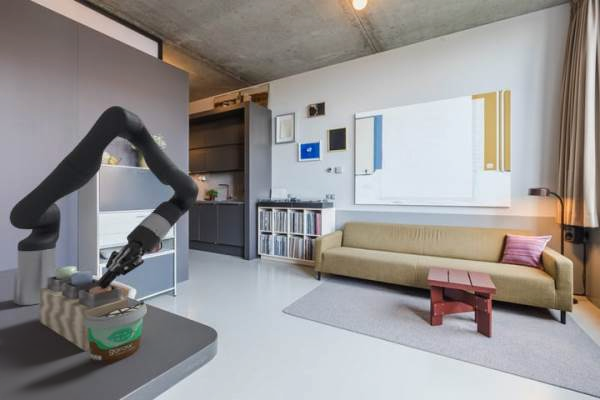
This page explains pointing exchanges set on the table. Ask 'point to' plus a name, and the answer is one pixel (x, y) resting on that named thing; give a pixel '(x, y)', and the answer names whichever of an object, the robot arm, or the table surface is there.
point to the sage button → (65, 272)
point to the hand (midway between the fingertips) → (100, 286)
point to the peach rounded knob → (99, 290)
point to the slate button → (82, 278)
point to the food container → (115, 333)
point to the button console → (75, 308)
